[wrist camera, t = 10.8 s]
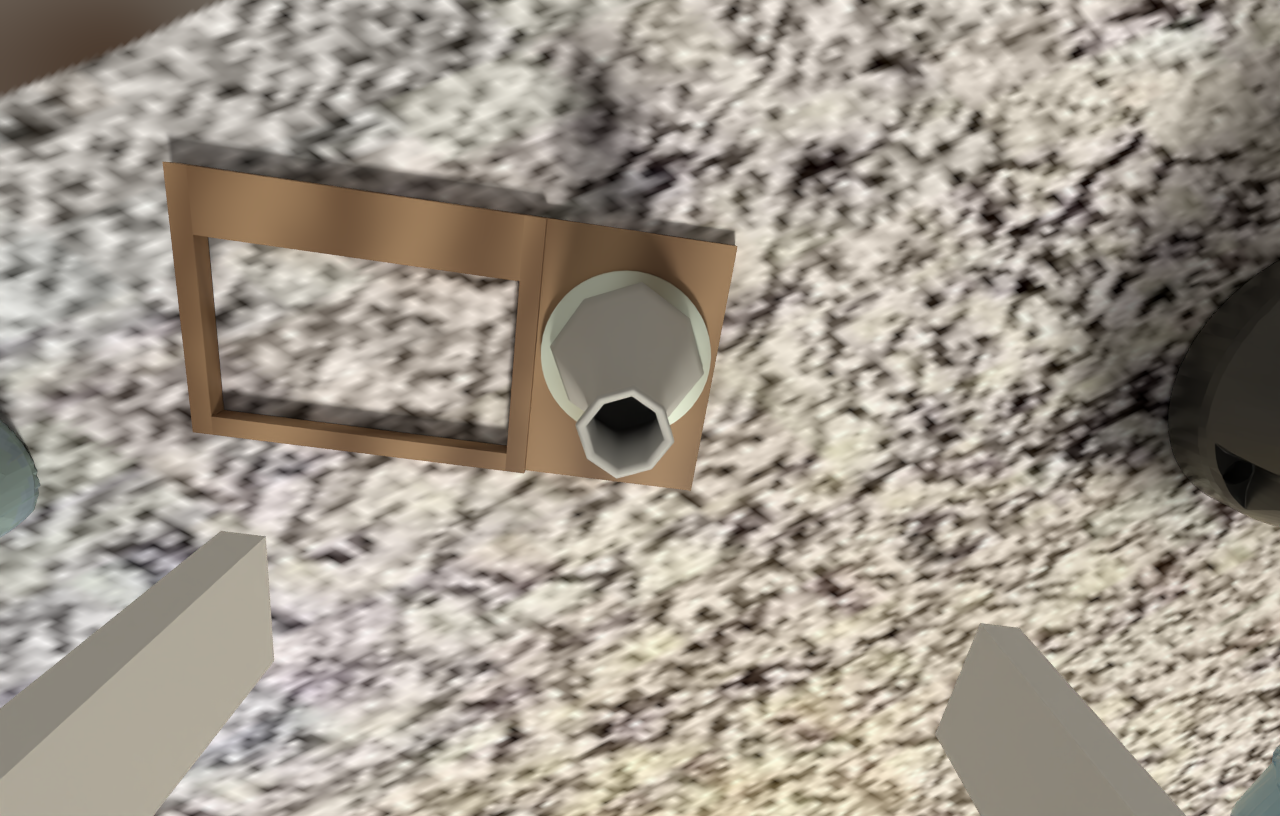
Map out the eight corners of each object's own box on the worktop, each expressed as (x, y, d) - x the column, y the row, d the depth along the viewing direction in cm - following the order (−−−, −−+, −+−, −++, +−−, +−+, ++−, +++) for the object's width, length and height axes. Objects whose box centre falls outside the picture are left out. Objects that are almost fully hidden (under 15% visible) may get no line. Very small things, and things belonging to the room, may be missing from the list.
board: (735, 245, 29) (739, 247, 28) (689, 485, 33) (691, 494, 32) (178, 162, 28) (161, 161, 26) (205, 425, 32) (191, 432, 31)
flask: (646, 253, 28) (653, 283, 19) (728, 376, 30) (772, 459, 21) (524, 340, 29) (472, 408, 20) (610, 452, 31) (600, 562, 22)
